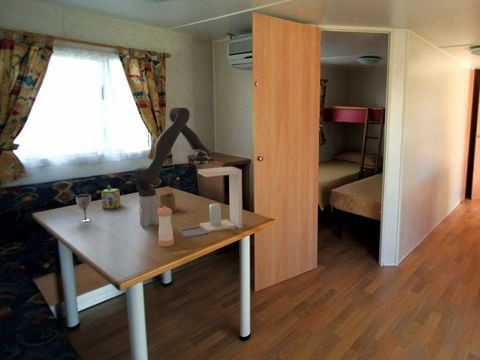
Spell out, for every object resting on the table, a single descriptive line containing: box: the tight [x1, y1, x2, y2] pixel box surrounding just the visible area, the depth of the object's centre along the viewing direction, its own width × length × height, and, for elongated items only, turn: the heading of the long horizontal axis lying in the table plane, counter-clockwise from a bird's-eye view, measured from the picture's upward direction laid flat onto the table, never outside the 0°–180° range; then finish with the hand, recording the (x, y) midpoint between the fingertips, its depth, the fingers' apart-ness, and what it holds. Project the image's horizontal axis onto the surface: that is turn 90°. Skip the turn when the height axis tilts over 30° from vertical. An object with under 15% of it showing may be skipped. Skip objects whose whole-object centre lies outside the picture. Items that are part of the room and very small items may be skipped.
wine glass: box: [75, 193, 92, 221], centre depth 207 cm, size 8×8×15 cm
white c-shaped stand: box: [197, 166, 243, 233], centre depth 190 cm, size 20×12×32 cm, turn 115°
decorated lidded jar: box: [100, 184, 122, 209], centre depth 236 cm, size 9×9×15 cm
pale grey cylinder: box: [208, 202, 222, 227], centre depth 191 cm, size 6×6×11 cm
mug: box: [156, 191, 178, 212], centre depth 226 cm, size 12×18×12 cm, turn 132°
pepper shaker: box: [157, 206, 175, 247], centre depth 167 cm, size 7×7×19 cm
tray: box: [177, 225, 209, 239], centre depth 183 cm, size 12×12×2 cm
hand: (200, 161), depth 199 cm, fingers open, 8 cm apart
